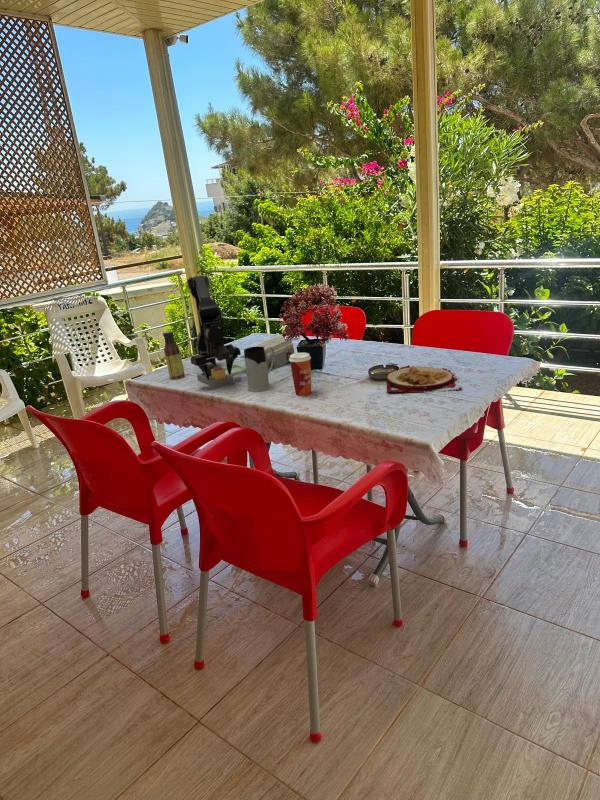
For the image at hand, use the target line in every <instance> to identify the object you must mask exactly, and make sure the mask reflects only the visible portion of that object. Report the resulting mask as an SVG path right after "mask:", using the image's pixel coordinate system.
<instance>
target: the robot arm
mask: <svg viewBox="0 0 600 800" xmlns="http://www.w3.org/2000/svg"><path fill="white" fill-rule="evenodd" d="M186 285H187V290H189V292H190V294H191V296H192V297H193V298H194V300H195V308H196V314H197V315H196V316H197V321H198V327H199V332H198V334H197V335H196V338H197V341H196V342H195V343H196V351H197V354H195V355H191V357H190V359H189V360H190V364H192V365H194V366H196V367H198V368H199V369H200V370H201V373H203V374H204V375H205V377H206V378H207V380H209V374H208V370H207V365H208V364H206V363H213V364H214V365H216V366H220V364H218V363H217V362H216V361H217V360H218V361H219V362H221V361H223V360H224V361H225V364H226V367H227V370H228V374H231V370H232V365H234V361H235V360H236V359H238V357H239V356H240V355H241V354H242V353H241V349H240V348H239V347H237V346H234V345H233V344H225V345H224V341H223V339H224V335H225V334H224V331H223V330H222V329H221V328H220V325H219V324H223V320H224V317H223V314H222V313H223V312H222V310H221V308H220V307H219V306H218V305H217V303H216V301H215V300H214V299H212V298H211V295H210V292H209V288H208V287H210V286H211V285H210V279H209V277H208V276H206V275H198V276H191V277H189V278H188V279H187V280H186ZM241 356H242V355H241Z"/></svg>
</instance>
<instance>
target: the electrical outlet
mask: <svg viewBox="0 0 600 800" xmlns="http://www.w3.org/2000/svg"><path fill="white" fill-rule="evenodd" d="M284 337H285V336H275V337H272V338H270V339H268V340H265V341H263V342H260V343H259V344H257V345H254V346H253V347H264V351H265V350H266V349H267V348H268V347H271V348H273V350H274V364H273V367H272V369H278V368H280V367H282V366H283V365H285V364H287V363H290V361H289V358H290V355H292V354H295V353H296V352H295V348H294V342H293V341H298V340H299V339H300V337H294V338H293V339H291V340H289V341H285V340H284ZM271 348H269V349H268V350H267V359H266V363H267V371H269V369H270V367H271V364H272V360H273V352H272V349H271ZM239 359H245V355H241V356H240V357H239ZM272 369H271V370H272Z"/></svg>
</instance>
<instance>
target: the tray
mask: <svg viewBox="0 0 600 800" xmlns="http://www.w3.org/2000/svg"><path fill="white" fill-rule="evenodd" d="M222 368H224V369H225V374H226V375H229V376H231V377H234V376H237V375H238V376H239V375H241V374H245V373H246V366H244V365H242V364H239V363H233V365H232V370H231V374H228V370H227V366H223V367H222Z"/></svg>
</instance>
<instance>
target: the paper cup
mask: <svg viewBox="0 0 600 800" xmlns="http://www.w3.org/2000/svg"><path fill="white" fill-rule="evenodd" d="M294 353H295V354H292V355H290V358H289V363H290V369H291V374H292V375H291V376H292V381H293V388H294V393H295V395H296V396H299V397H303V396H305V397H306V396H309V395H310V394H311V393H312V375H311V374H312V373H311V371H312V370H311V359H312V357H311V355H310V353H309V352H294Z"/></svg>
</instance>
